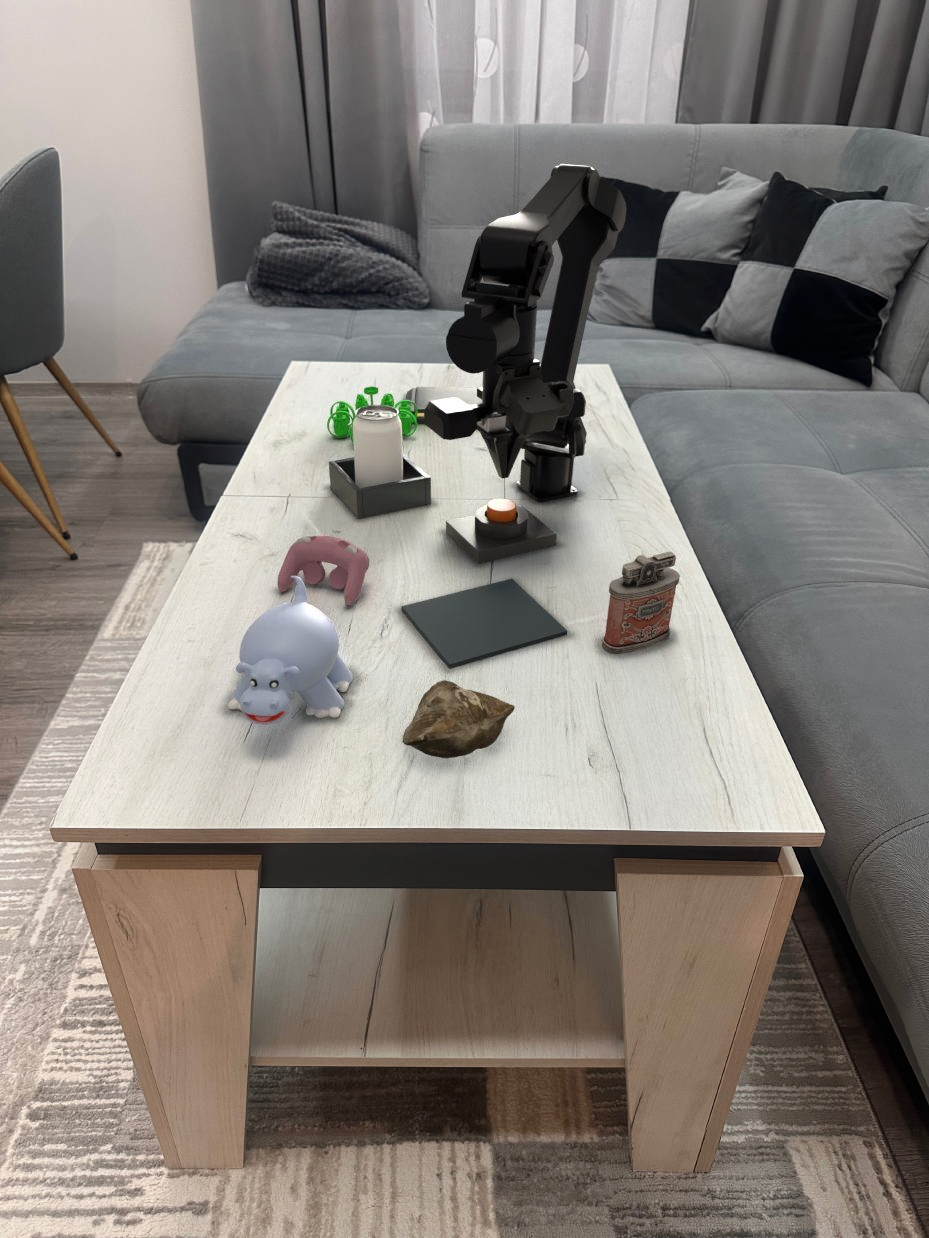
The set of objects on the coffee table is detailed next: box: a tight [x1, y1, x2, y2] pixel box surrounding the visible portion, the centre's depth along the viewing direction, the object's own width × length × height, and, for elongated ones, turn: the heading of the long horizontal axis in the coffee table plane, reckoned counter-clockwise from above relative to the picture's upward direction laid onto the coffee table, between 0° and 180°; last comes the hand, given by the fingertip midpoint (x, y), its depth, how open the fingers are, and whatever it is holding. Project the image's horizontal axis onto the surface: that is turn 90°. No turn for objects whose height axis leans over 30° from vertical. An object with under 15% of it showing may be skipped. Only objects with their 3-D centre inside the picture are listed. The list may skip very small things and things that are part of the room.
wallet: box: [405, 386, 482, 425], centre depth 150 cm, size 20×2×15 cm
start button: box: [486, 498, 517, 522], centre depth 109 cm, size 4×4×2 cm
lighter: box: [601, 550, 681, 656], centre depth 90 cm, size 8×3×10 cm, turn 118°
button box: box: [445, 504, 558, 565], centre depth 110 cm, size 11×9×4 cm
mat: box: [401, 578, 568, 670], centre depth 95 cm, size 14×12×1 cm
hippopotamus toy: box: [227, 575, 354, 726], centre depth 81 cm, size 11×15×10 cm
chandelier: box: [326, 386, 418, 444], centre depth 139 cm, size 15×15×7 cm
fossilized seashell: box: [402, 679, 516, 759], centre depth 78 cm, size 8×7×10 cm
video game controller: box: [277, 535, 370, 606], centre depth 99 cm, size 10×5×7 cm, turn 71°
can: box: [352, 404, 404, 488], centre depth 118 cm, size 6×6×12 cm
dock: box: [328, 451, 432, 520], centre depth 120 cm, size 11×11×4 cm
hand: (503, 477), depth 107 cm, fingers closed
